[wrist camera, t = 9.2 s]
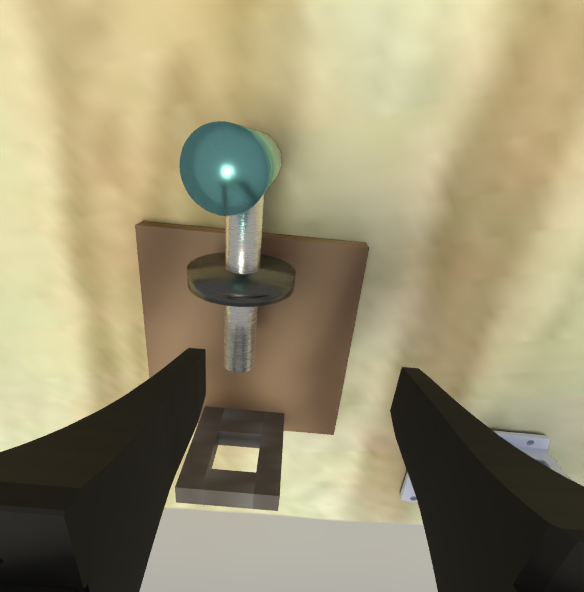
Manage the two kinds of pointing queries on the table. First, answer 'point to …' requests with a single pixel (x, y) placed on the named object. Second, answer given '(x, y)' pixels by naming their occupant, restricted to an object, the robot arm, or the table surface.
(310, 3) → the table surface
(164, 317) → the eye stand
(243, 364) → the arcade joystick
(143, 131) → the table surface
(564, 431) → the table surface
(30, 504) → the robot arm
